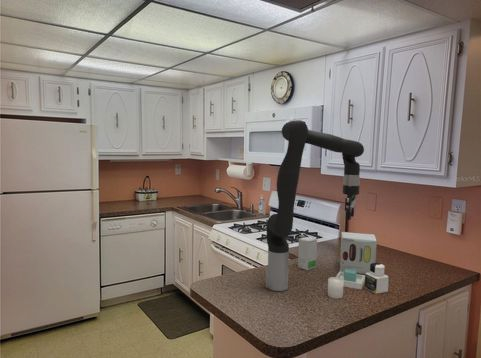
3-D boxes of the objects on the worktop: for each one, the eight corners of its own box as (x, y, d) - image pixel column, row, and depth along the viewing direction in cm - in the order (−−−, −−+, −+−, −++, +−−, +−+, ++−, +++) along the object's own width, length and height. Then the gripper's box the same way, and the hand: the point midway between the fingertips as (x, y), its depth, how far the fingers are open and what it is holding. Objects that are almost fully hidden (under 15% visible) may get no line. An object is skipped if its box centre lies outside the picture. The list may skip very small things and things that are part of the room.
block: (343, 282, 166) (344, 271, 166) (345, 278, 171) (345, 268, 170) (354, 284, 164) (355, 273, 163) (356, 280, 168) (356, 270, 168)
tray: (334, 284, 165) (334, 279, 164) (339, 276, 175) (339, 271, 175) (361, 289, 159) (361, 284, 159) (364, 280, 170) (365, 275, 170)
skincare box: (306, 270, 183) (307, 241, 181) (296, 267, 188) (297, 238, 186) (316, 267, 188) (317, 238, 187) (306, 264, 193) (307, 236, 192)
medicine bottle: (364, 288, 161) (365, 262, 160) (376, 285, 164) (377, 260, 163) (375, 294, 155) (377, 267, 154) (388, 291, 157) (389, 265, 156)
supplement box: (339, 271, 182) (341, 237, 180) (339, 263, 195) (341, 231, 193) (375, 275, 177) (377, 240, 176) (373, 267, 190) (374, 234, 188)
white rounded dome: (326, 296, 151) (326, 280, 151) (329, 291, 157) (330, 276, 156) (341, 299, 148) (342, 283, 148) (344, 294, 154) (344, 278, 153)
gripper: (345, 182, 176) (344, 214, 177) (340, 185, 163) (338, 219, 164) (361, 183, 172) (360, 216, 174) (357, 186, 160) (355, 221, 161)
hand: (349, 218), depth 169 cm, fingers open, 8 cm apart
